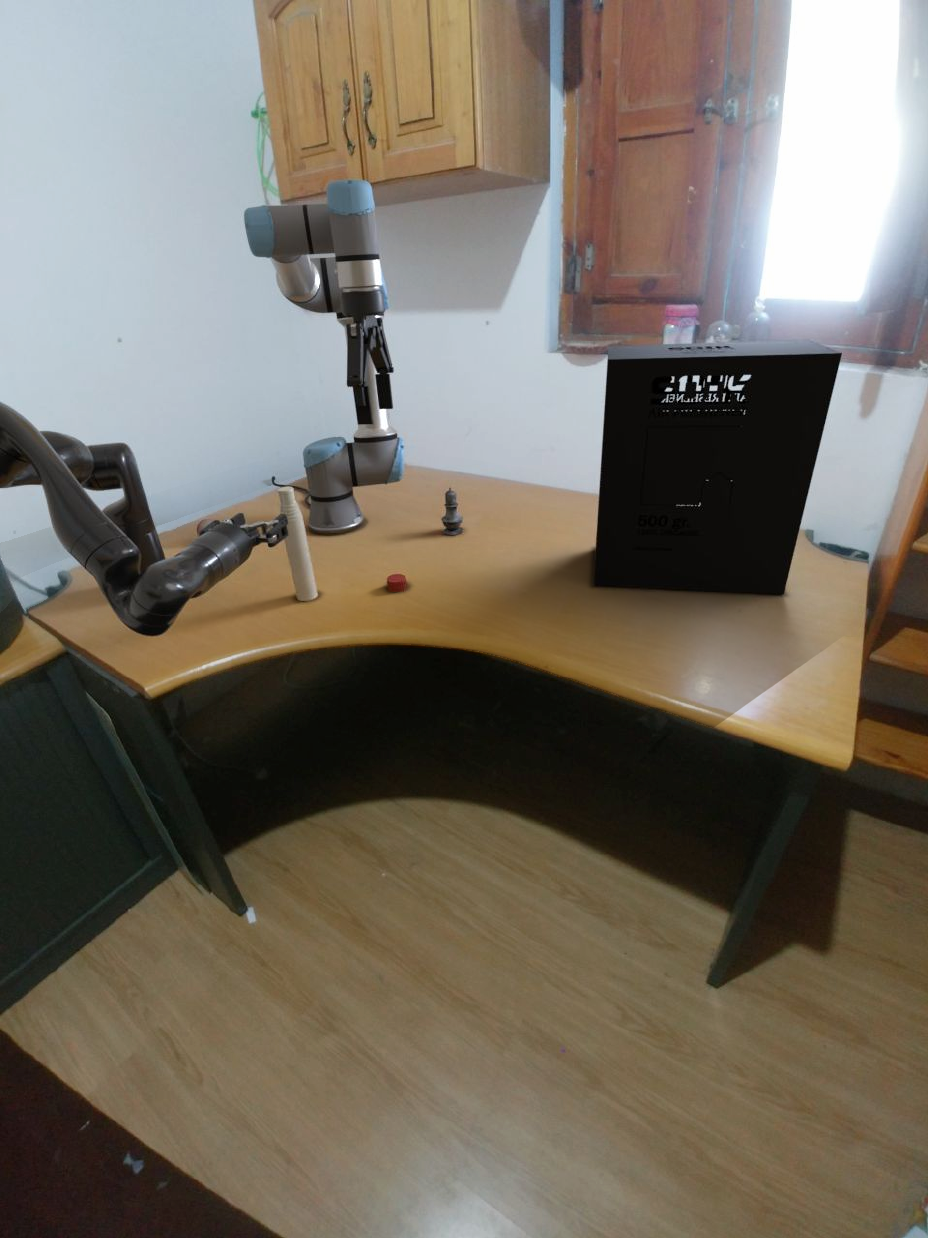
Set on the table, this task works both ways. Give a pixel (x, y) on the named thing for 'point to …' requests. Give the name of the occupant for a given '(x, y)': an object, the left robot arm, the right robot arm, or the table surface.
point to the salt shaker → (451, 515)
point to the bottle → (297, 547)
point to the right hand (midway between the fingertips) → (376, 416)
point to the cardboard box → (709, 463)
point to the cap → (396, 582)
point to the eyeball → (203, 525)
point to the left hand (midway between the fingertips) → (263, 518)
